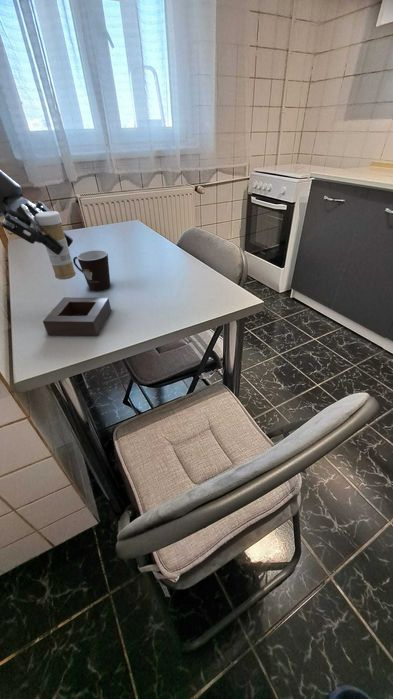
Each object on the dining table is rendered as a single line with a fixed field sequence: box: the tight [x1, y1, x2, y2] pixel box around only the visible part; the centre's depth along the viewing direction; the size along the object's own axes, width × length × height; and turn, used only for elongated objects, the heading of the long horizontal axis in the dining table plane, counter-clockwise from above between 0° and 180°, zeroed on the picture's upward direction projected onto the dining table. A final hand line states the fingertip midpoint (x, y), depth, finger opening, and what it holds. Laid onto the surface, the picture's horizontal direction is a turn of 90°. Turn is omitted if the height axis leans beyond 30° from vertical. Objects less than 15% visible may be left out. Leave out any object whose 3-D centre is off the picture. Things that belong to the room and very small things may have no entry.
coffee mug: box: [72, 249, 111, 292], centre depth 89 cm, size 12×9×10 cm
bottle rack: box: [42, 296, 112, 337], centre depth 73 cm, size 12×12×4 cm
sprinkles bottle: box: [35, 210, 77, 280], centre depth 63 cm, size 5×5×13 cm
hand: (65, 247), depth 63 cm, fingers closed on sprinkles bottle, 4 cm apart
